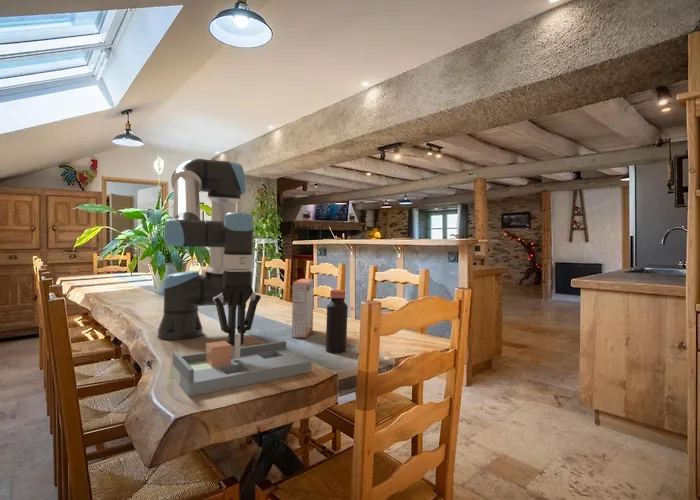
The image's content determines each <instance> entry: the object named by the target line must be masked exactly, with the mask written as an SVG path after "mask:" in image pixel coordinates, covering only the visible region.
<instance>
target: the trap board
mask: <svg viewBox="0 0 700 500" xmlns="http://www.w3.org/2000/svg"><path fill="white" fill-rule="evenodd" d="M306 372H309V373H312V361H311V360H309V359H307V358H305V357H304V356H302V355H300V354H298V353H297V352H294V351H292V350H290V349H288V348H287V341H285V340H283V341H278V342H277V341H276V342H268V343H262V344H261V343H260V344H255V345H248V346H247V345H246V346H240V358H238V359H234V358H233V357H231V364H227V365H221V366H215V367H211V366H210V365H209V364H208V363H206V351H205V352H198V353H191V354H182V355H181V354H180V353H179V352H177V351H175V352H173V353H172V377H173V378H174V380H175V381H176V382H177V383H178V385H179V386H180V388H181V389H182V391H183V392H184V393H185V394H186V395H187V396H188V397H195V396H200V395H203V394H204V395H205V394H209V393H214V392H219V391H224V390H228V389H233V388H238V387H240V388H241V387H245V386H249V385H254V384H258V383H264V382H269V381H274V380H279V379H283V378H289V377H293V375H294V376H298V375H297V374H299V375H303V374H302V373H304V374H307V373H306Z"/></svg>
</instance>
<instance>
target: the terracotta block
mask: <svg viewBox="0 0 700 500" xmlns="http://www.w3.org/2000/svg"><path fill="white" fill-rule="evenodd" d="M205 352H206V363H208V364H209V365H210V366H211V367H215V366H221V365H227V364H231V344H229V343H228V341H226V340H220V341H214V342H206V344H205Z"/></svg>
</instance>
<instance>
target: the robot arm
mask: <svg viewBox="0 0 700 500" xmlns="http://www.w3.org/2000/svg"><path fill="white" fill-rule="evenodd" d="M244 170H245V169H244V168H243V166H242V165H241V164H240V163H238V162H233V161H226V160H216V159H215V160H214V159H206V158H205V159H204V158H193V159H190V160H186V161H184V162H183V163H181V164H179V165H178V167H176V169H175V170H174V171H173V173H172V175H171V178H170V179H171V183H170V184H171V187H172V190H173V191H174V192H173V208H172V209H173V211H172V218H168V219H166V220H165V221H164V243H165V245H167V246H170V247H179V248H182V247H197V248H198V247H199V248H200V247H201V248H203V247H204V248H210V251H209V252H210V253H209V266H207V268H205V271H204V272H205V273H204V274H200V272H199V270H188V271H187V270H186V271H179V272H174V273H169V274H168V275H166V276H165V278H164V282H163V283H164V286H163V289H164V292H163V315H162V318H161V321H160V324H159V326H158V329H157V337H158V338H159V339H162V340H186V339H187V340H188V339H194V338H197V337H200V336H202V335H203V325H202V322H201V319H200V316H199V307H204V306H205V307H208V306H215V307H216V312H217V317H218V321H219V326H220V330H221V331H222V332H224V333H225V334H228V340H227V343H229V344H231V357H233V358H234V359H238V358H240V347H241V345H244V344H245V343H244V342H245V341H244V340H245V334H246V332H247V331H251V329H252V325H253V322H254V319H255V315H256V309H257V307H258V303H259V301H260V300H261V298H262V296H261V295H260V294H257V293H255V292H254V289H253V287H252V284H253V272H252V271H251V270H252V269H253V248H254V246H253V243H254V228H255V225H254V217H253V215H252V214H251V213H245V212H236V210H237V203H238V202H240V200H241V196H243V195H245V194H246V177H245V171H244ZM200 192H203V193H205V192H206V193H207V198H208V199H209V201H211V217H210V218H211V220H202V219H201V205H200V202H201V201H200ZM249 300H250V301H249ZM248 301H249V303H248V307H247V302H248ZM224 306H227V308H228V309H227V311H228V312H227V314H226V311H225V307H224ZM246 308H247V311H246ZM227 316H228V317H227ZM236 318H237V319H236ZM236 320H237V321H236ZM236 326H237V327H236ZM236 330H237V331H236Z"/></svg>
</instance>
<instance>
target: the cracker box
mask: <svg viewBox="0 0 700 500" xmlns="http://www.w3.org/2000/svg"><path fill="white" fill-rule="evenodd" d="M314 285H315V283H314V278H300V279H297V280H296V281H294V282H292V310H291V311H292V318H291V319H292V322H291V323H292V325H291V326H292V327H291V338H295V339H296V338H297V339H300V338H301V339H307V338H308V337H309V335H310V334H311V332H312V331H313V330H314V327H313V325H314Z"/></svg>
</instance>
